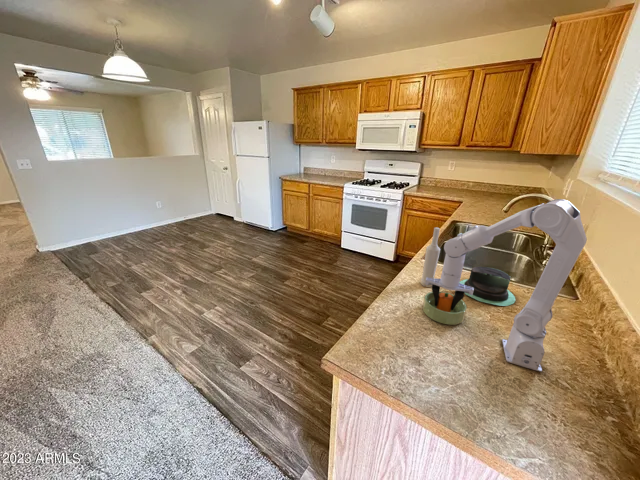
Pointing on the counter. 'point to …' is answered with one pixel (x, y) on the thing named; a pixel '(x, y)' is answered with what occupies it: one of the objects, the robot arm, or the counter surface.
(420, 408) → the counter surface
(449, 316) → the bowl
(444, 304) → the pepper
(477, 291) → the chocolate cake
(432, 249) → the bottle
